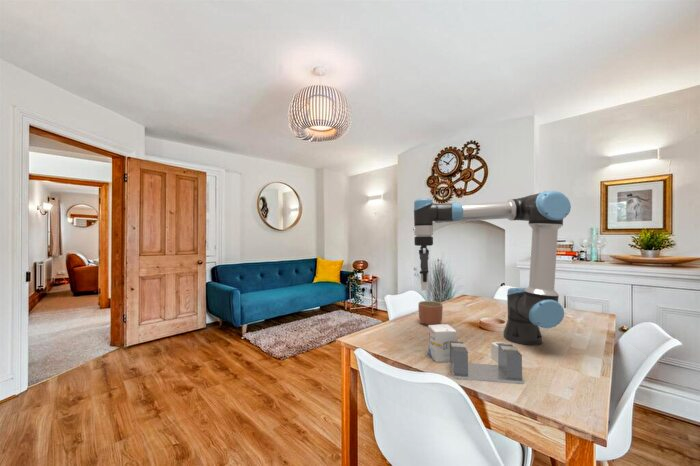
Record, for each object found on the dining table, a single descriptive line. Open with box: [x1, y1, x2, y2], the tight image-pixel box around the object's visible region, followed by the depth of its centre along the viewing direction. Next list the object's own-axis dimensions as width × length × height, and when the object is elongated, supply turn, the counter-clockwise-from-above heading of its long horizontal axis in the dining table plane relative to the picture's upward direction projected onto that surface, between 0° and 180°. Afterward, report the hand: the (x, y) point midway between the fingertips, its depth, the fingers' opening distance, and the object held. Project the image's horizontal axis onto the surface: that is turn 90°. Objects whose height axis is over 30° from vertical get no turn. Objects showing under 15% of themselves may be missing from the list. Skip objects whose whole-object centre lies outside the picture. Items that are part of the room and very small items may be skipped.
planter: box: [417, 300, 444, 326], centre depth 155 cm, size 12×12×11 cm
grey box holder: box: [449, 341, 524, 385], centre depth 101 cm, size 21×11×9 cm, turn 79°
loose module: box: [490, 341, 507, 363], centre depth 110 cm, size 5×7×6 cm
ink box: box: [427, 323, 458, 363], centre depth 114 cm, size 9×8×12 cm
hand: (424, 286), depth 122 cm, fingers open, 13 cm apart
